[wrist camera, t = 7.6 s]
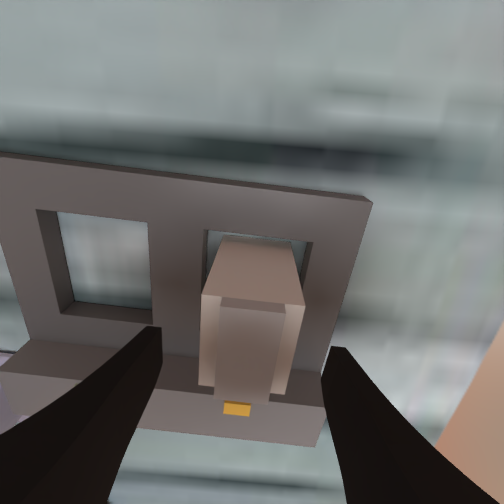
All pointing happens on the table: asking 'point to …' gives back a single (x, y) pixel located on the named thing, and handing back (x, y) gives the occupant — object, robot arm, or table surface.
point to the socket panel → (168, 287)
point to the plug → (250, 319)
